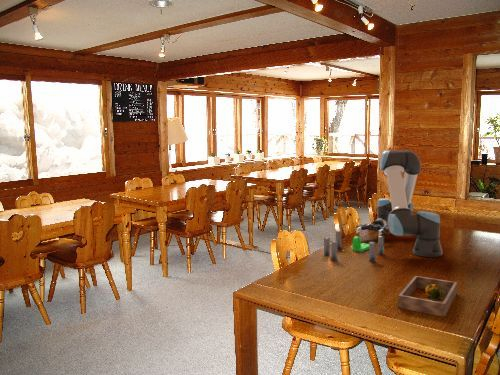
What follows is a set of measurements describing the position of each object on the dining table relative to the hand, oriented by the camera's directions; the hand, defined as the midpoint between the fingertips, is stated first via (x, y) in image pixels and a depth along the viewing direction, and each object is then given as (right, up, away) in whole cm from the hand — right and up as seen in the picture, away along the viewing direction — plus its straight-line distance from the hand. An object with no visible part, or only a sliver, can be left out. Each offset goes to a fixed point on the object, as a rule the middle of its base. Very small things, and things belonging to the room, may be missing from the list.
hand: (368, 231), depth 269 cm
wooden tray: (+2, -19, -87) cm, 89 cm away
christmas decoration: (+4, -19, -87) cm, 90 cm away
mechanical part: (-6, -9, -9) cm, 14 cm away
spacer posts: (-15, -11, -22) cm, 29 cm away
